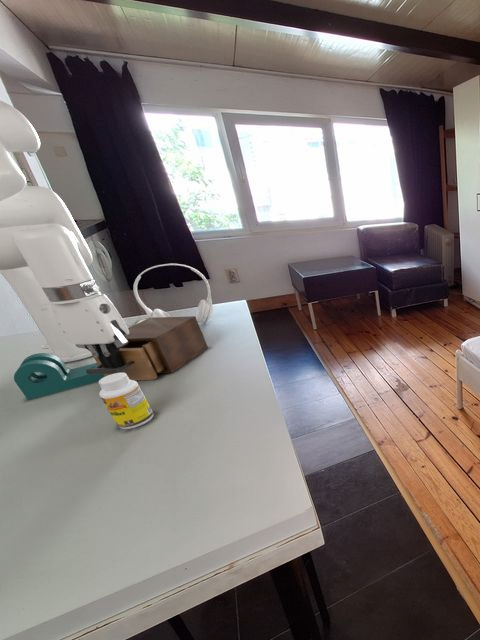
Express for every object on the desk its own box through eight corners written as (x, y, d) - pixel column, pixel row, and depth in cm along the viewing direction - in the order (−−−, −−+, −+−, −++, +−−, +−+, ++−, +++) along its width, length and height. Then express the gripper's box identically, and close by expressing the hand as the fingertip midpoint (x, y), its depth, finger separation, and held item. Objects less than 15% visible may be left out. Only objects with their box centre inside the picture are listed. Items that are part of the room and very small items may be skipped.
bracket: (28, 400, 81) (6, 369, 77) (34, 387, 86) (14, 358, 82) (131, 372, 91) (116, 343, 87) (131, 362, 96) (117, 335, 92)
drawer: (137, 390, 81) (120, 360, 77) (88, 391, 81) (69, 361, 78) (190, 354, 96) (179, 327, 93) (149, 355, 97) (136, 329, 93)
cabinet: (172, 373, 90) (155, 337, 85) (123, 374, 90) (103, 339, 86) (208, 348, 102) (195, 316, 97) (164, 349, 102) (149, 317, 98)
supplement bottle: (112, 428, 71) (84, 383, 66) (142, 411, 75) (118, 368, 71) (132, 432, 69) (105, 387, 64) (161, 415, 74) (138, 371, 69)
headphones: (223, 322, 119) (200, 261, 110) (153, 338, 109) (122, 273, 100) (220, 316, 124) (198, 257, 115) (153, 331, 115) (124, 268, 105)
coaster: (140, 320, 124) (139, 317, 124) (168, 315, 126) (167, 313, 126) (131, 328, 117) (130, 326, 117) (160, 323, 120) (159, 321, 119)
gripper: (124, 284, 77) (161, 360, 85) (56, 287, 77) (99, 362, 86) (90, 296, 70) (134, 377, 78) (17, 298, 71) (68, 379, 79)
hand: (116, 369), depth 82 cm, fingers closed
